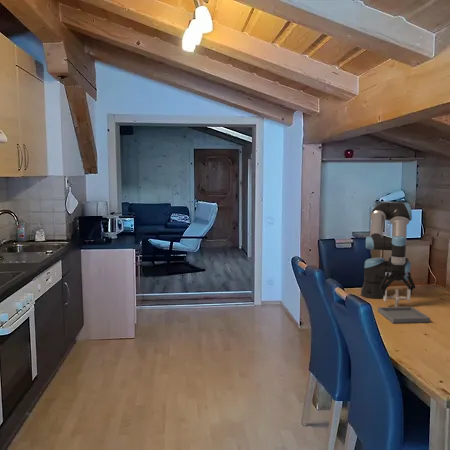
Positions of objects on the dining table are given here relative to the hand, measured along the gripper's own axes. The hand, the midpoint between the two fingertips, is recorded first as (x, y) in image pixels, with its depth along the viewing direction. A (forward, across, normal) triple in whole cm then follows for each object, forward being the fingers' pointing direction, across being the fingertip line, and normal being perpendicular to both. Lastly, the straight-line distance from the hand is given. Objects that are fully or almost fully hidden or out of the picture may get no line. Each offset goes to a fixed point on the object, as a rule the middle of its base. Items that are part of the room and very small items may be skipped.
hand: (396, 300), depth 262 cm
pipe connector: (+4, 0, 0) cm, 4 cm away
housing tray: (+4, -5, -19) cm, 20 cm away
